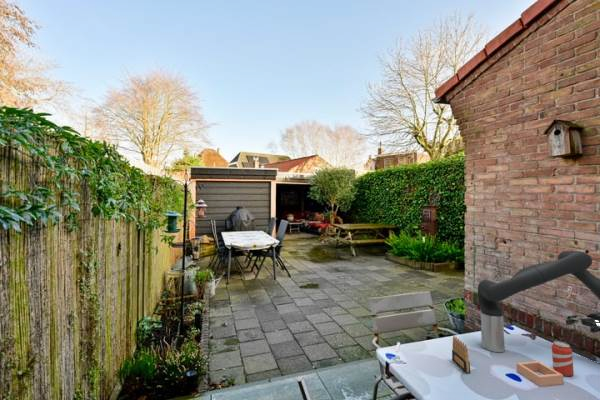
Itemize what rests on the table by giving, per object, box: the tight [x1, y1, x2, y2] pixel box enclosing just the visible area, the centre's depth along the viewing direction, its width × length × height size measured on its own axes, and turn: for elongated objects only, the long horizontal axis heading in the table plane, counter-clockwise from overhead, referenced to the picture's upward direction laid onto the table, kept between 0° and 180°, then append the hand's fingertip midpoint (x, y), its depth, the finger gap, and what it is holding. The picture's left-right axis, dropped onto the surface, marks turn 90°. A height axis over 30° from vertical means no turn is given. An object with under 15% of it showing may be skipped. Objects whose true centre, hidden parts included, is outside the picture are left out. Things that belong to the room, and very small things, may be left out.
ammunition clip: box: [451, 335, 471, 374], centre depth 125 cm, size 11×2×12 cm, turn 1°
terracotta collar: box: [516, 360, 565, 387], centre depth 115 cm, size 10×10×4 cm
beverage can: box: [551, 340, 574, 377], centre depth 118 cm, size 6×6×12 cm
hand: (578, 326), depth 122 cm, fingers open, 8 cm apart
